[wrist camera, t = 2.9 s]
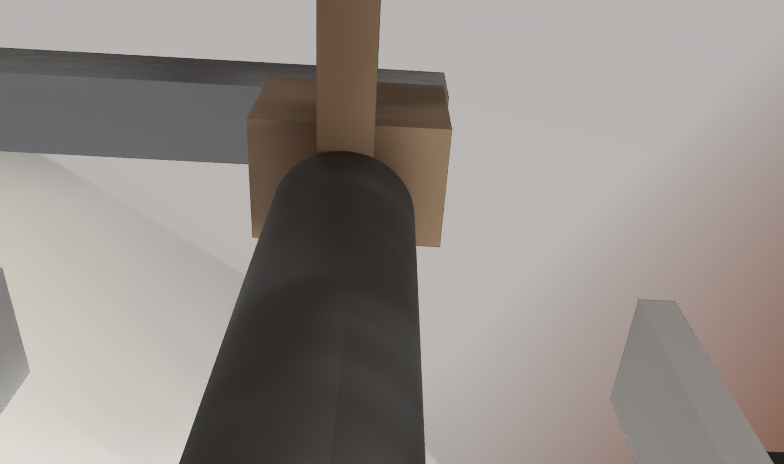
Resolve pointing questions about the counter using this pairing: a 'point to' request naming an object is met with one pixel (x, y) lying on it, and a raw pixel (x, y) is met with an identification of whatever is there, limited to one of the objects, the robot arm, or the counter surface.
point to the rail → (140, 103)
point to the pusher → (331, 264)
